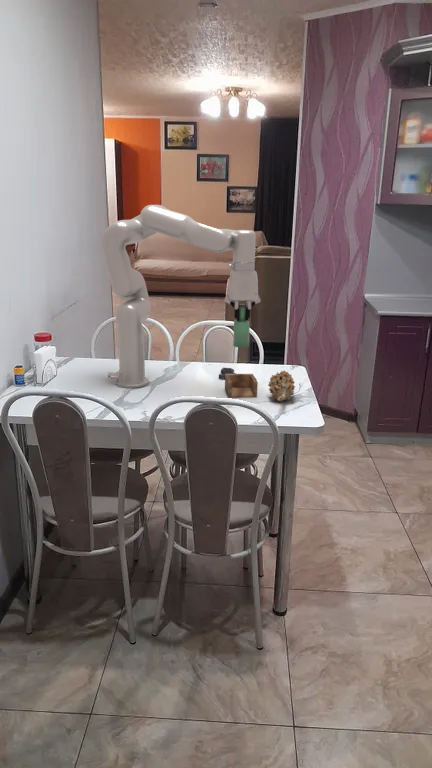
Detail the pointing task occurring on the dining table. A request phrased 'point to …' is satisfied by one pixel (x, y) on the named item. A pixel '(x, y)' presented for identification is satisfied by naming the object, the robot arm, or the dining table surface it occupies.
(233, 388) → the wooden square tray
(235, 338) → the bottle
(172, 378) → the dining table surface
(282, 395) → the pine cone
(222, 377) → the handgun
